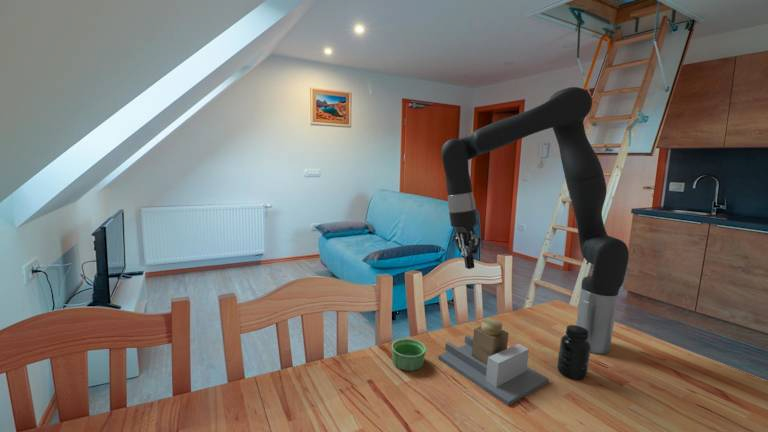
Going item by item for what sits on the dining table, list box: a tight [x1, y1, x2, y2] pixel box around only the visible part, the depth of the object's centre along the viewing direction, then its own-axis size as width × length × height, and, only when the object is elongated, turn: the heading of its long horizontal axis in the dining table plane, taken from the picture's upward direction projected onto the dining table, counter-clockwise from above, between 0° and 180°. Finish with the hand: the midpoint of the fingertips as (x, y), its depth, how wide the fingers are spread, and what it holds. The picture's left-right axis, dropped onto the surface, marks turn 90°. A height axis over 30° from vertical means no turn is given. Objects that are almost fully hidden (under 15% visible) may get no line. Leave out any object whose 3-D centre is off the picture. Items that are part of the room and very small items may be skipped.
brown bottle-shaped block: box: [472, 318, 509, 365], centre depth 92 cm, size 6×6×11 cm
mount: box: [437, 334, 550, 406], centre depth 93 cm, size 16×23×7 cm
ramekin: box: [391, 338, 427, 372], centre depth 94 cm, size 9×9×4 cm
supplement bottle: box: [556, 324, 591, 381], centre depth 92 cm, size 7×7×12 cm
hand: (470, 268), depth 105 cm, fingers closed
